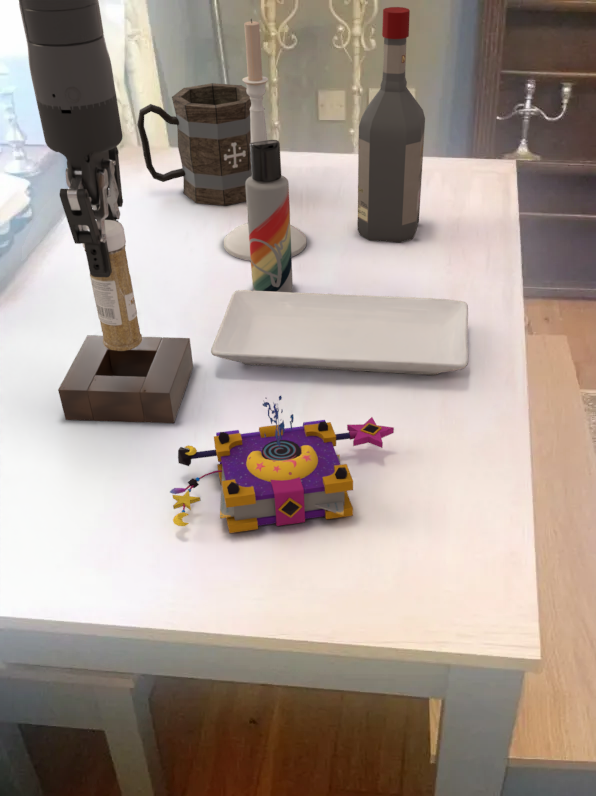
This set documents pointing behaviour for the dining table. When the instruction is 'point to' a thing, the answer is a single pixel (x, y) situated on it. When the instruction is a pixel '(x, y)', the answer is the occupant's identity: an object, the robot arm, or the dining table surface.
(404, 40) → the liquor
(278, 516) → the book
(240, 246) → the candlestick
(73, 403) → the hollow square block
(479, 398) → the dining table surface
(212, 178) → the mug
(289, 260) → the lotion bottle
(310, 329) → the tray
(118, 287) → the sprinkles bottle
